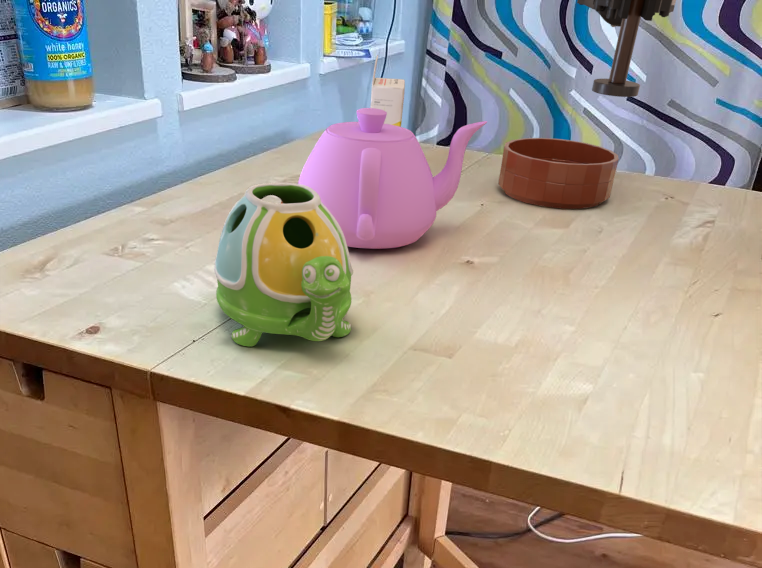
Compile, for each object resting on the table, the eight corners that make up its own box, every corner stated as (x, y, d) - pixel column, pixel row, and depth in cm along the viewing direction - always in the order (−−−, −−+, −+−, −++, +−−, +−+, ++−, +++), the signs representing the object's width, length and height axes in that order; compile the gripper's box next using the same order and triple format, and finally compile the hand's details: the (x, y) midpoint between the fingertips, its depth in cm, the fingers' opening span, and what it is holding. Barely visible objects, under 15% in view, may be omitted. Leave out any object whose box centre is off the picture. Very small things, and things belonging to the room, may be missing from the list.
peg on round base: (628, 89, 110) (667, -76, 99) (644, 98, 105) (687, -76, 94) (585, 87, 109) (620, -80, 98) (600, 95, 104) (638, -79, 93)
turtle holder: (259, 386, 66) (256, 239, 59) (201, 304, 79) (193, 175, 72) (394, 367, 70) (407, 227, 63) (318, 292, 83) (322, 169, 76)
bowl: (587, 181, 127) (597, 140, 123) (623, 212, 114) (635, 166, 110) (487, 178, 125) (493, 135, 121) (512, 208, 112) (520, 162, 109)
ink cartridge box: (398, 174, 124) (407, 64, 115) (366, 171, 124) (372, 61, 115) (398, 160, 131) (406, 55, 122) (367, 158, 131) (374, 53, 122)
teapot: (481, 271, 91) (501, 138, 83) (289, 261, 90) (290, 124, 82) (460, 214, 108) (475, 99, 100) (299, 205, 108) (300, 88, 99)
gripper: (669, 28, 117) (694, 48, 98) (563, 19, 118) (568, 37, 100) (685, -35, 112) (715, -27, 94) (574, -44, 113) (582, -38, 95)
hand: (639, 6), depth 97 cm, fingers closed on peg on round base, 2 cm apart
